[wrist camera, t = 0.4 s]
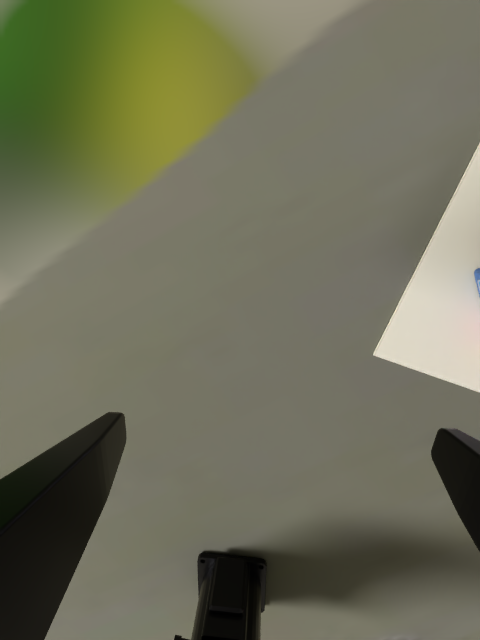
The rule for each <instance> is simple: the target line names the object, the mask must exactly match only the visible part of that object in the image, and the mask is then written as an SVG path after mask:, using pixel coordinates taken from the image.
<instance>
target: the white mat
mask: <svg viewBox="0 0 480 640" xmlns="http://www.w3.org/2000/svg"><path fill="white" fill-rule="evenodd" d="M478 268H480V143H479V145H478V147H477V149H476V151H475V153H474V155H473V157H472V159H471V161H470V163H469V165H468V167H467V169H466V171H465V173H464V175H463V177H462V179H461V181H460V183H459V185H458V187H457V189H456V191H455V193H454V195H453V197H452V199H451V201H450V203H449V205H448V207H447V209H446V211H445V212H444V214H443V216H442V218H441V220H440V222H439V224H438V226H437V228H436V230H435V232H434V234H433V236H432V238H431V240H430V242H429V244H428V246H427V248H426V250H425V252H424V254H423V256H422V258H421V260H420V262H419V264H418V266H417V268H416V270H415V272H414V274H413V276H412V278H411V280H410V282H409V284H408V286H407V288H406V290H405V292H404V294H403V296H402V298H401V300H400V302H399V304H398V306H397V308H396V310H395V312H394V314H393V315H392V317H391V319H390V321H389V323H388V325H387V327H386V329H385V331H384V333H383V335H382V337H381V339H380V341H379V343H378V345H377V347H376V349H375V351H374V353H373V355H374V356H377V357H380V358H383V359H386V360H389V361H391V362H394V363H397V364H400V365H403V366H406V367H409V368H411V369H414V370H417V371H420V372H423V373H426V374H429V375H431V376H434V377H437V378H440V379H443V380H446V381H448V382H451V383H454V384H457V385H460V386H463V387H466V388H468V389H471V390H474V391H477V392H480V297H479V293H478V288H477V284H476V281H475V276H474V271H475V270H476V269H478Z"/></svg>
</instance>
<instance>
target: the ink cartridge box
mask: <svg viewBox="0 0 480 640" xmlns="http://www.w3.org/2000/svg"><path fill="white" fill-rule="evenodd" d="M474 276H475V281H476V284H477V288H478V293H479V297H480V268H478V269H476V270H475V271H474Z"/></svg>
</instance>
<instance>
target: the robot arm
mask: <svg viewBox="0 0 480 640" xmlns="http://www.w3.org/2000/svg"><path fill="white" fill-rule="evenodd" d="M125 444H126V426H125V417H124V414H123V413H119V412H108V413H106V414H105V415H103V416H101V417H100V418H98V419H96V420H95V421H93V422H92V423H90V424H88V425H87V426H85V427H84V428H82V429H80V430H79V431H77V432H76V433H74V434H72V435H71V436H69V437H68V438H66V439H64V440H63V441H61V442H60V443H58V444H56V445H55V446H53V447H51V448H50V449H48V450H47V451H45V452H43V453H42V454H40V455H39V456H37V457H35V458H34V459H32V460H31V461H29V462H27V463H26V464H24V465H23V466H21V467H19V468H18V469H16V470H15V471H13V472H11V473H10V474H8V475H6V476H5V477H3V478H2V479H0V640H44V639H45V637H46V634H47V632H48V630H49V628H50V626H51V623H52V621H53V619H54V617H55V614H56V612H57V610H58V608H59V606H60V603H61V601H62V599H63V597H64V594H65V592H66V590H67V588H68V586H69V583H70V581H71V579H72V577H73V574H74V572H75V570H76V568H77V566H78V563H79V561H80V559H81V557H82V554H83V552H84V550H85V548H86V546H87V543H88V541H89V539H90V537H91V534H92V532H93V530H94V528H95V526H96V523H97V521H98V519H99V517H100V514H101V512H102V510H103V508H104V505H105V503H106V501H107V498H108V495H109V493H110V490H111V487H112V484H113V481H114V478H115V475H116V472H117V468H118V465H119V462H120V459H121V456H122V453H123V450H124V447H125ZM431 456H432V460H433V462H434V464H435V466H436V468H437V471H438V473H439V475H440V477H441V479H442V481H443V483H444V485H445V488H446V490H447V492H448V494H449V496H450V498H451V500H452V503H453V505H454V507H455V509H456V511H457V513H458V515H459V517H460V518H461V520H462V522H463V524H464V526H465V527H466V529H467V531H468V532H469V534H470V536H471V538H472V539H473V541H474V543H475V545H476V546H477V548H478V550H479V551H480V441H478V440H477V439H475V438H473V437H471V436H469V435H467V434H465V433H463V432H461V431H460V430H458V429H454V428H441V429H439V430H438V432H437V435H436V438H435V441H434V444H433V447H432V450H431ZM265 587H266V561H265V560H264V559H258V558H247V557H237V556H227V555H217V554H206V553H201V554H199V556H198V590H199V601H198V606H197V611H196V617H195V622H194V627H193V632H192V638H191V640H260V626H261V613H262V612H263V611H264V608H265ZM181 637H182V636H179V635H175V638H174V640H189V639H185V638H181Z"/></svg>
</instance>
